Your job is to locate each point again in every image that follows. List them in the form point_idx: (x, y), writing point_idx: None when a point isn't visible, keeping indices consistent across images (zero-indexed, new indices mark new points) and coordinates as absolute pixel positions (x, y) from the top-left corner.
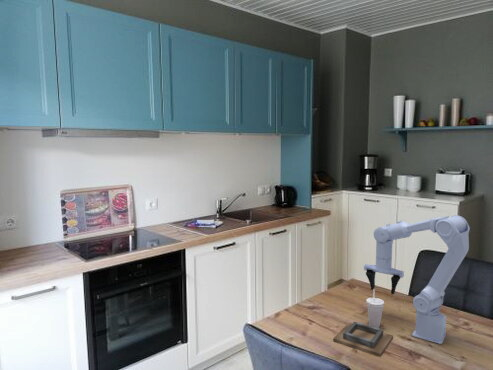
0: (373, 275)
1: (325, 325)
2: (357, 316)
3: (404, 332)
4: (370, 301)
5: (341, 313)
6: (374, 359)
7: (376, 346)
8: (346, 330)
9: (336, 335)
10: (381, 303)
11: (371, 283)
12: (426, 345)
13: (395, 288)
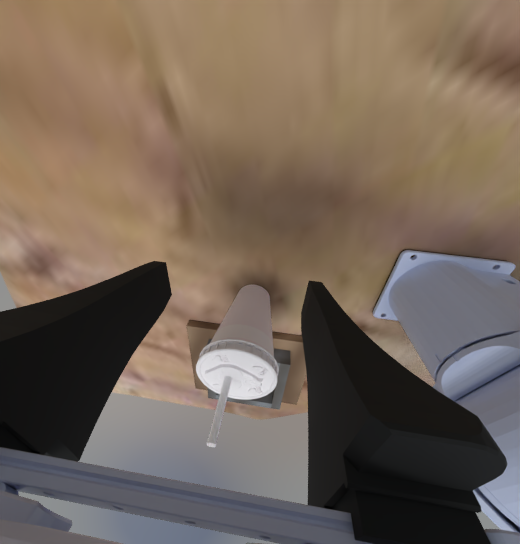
0: (74, 382)
1: (146, 339)
2: (183, 260)
3: (348, 299)
4: (219, 385)
5: (131, 263)
6: (287, 404)
7: (284, 389)
8: (209, 389)
9: (195, 379)
10: (267, 385)
11: (136, 339)
12: (407, 339)
13: (335, 304)
